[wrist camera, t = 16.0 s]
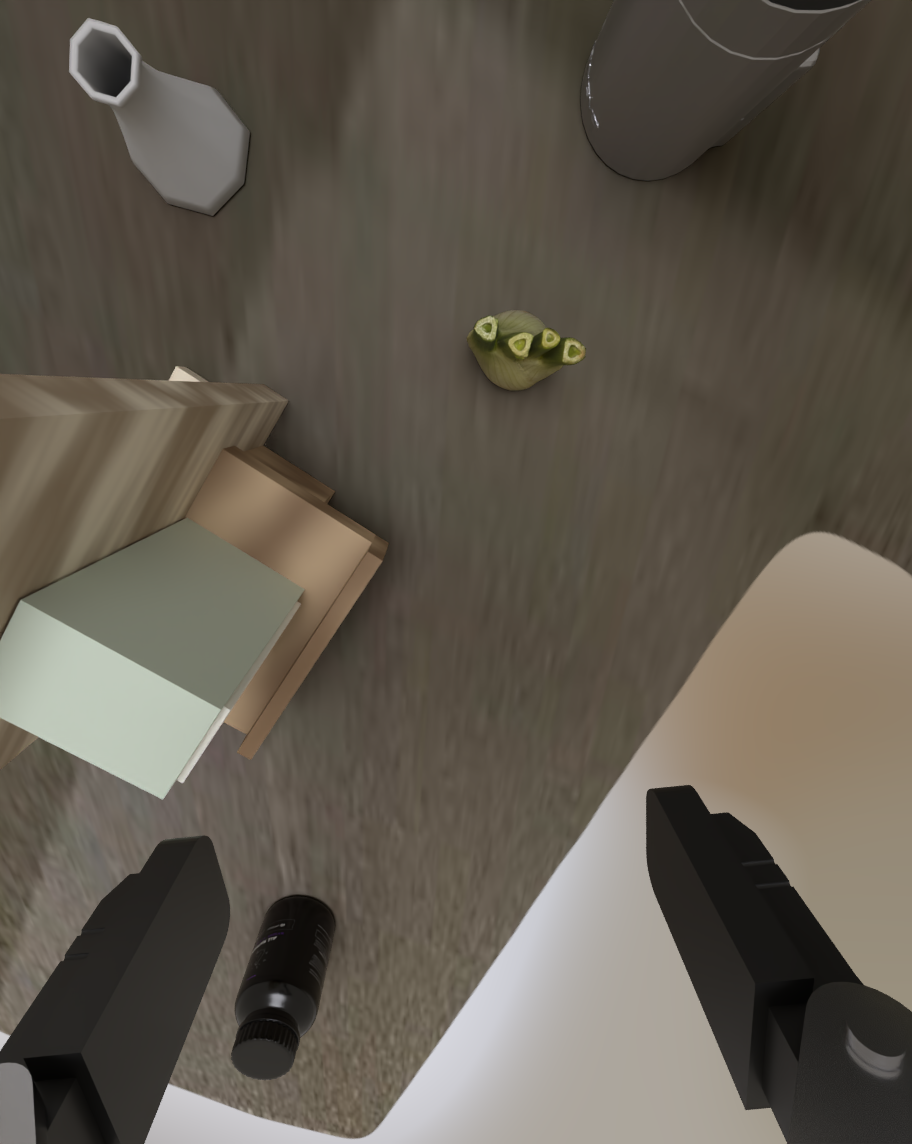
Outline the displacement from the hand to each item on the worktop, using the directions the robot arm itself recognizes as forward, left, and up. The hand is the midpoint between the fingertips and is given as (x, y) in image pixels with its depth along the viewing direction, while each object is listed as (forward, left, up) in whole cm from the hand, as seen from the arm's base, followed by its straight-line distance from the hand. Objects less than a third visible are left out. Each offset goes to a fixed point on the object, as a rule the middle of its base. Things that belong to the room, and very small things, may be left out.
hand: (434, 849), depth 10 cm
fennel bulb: (-6, -10, -34) cm, 36 cm away
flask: (+13, -24, -34) cm, 44 cm away
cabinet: (+13, +2, -25) cm, 29 cm away
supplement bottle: (+18, +39, -34) cm, 55 cm away
